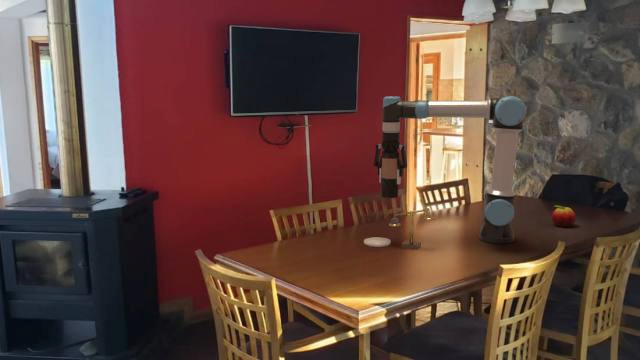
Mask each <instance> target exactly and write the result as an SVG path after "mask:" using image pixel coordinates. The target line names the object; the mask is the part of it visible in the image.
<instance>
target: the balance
mask: <svg viewBox="0 0 640 360" xmlns="http://www.w3.org/2000/svg"><path fill="white" fill-rule="evenodd" d="M430 210H431V209H430V207H428V208H424V209H423V208H422V209H418V210H410V211H407V212H401V213H396V214H394V216H393V217H392V218H391V219H390V223H388V226H389V227H395V228H396V227H397V228H398V227H401V226H402V225H401V223H400V222H399V218H398V217H401V216H408V215H409V240H404V241H403V242H402V243H401V249H405V250H407V249H408V250H413V251H417V250H419V249H420V248H421V247H422V241H414V221H415V220H414V218H415V217H414V214H417V213H424V212H428V216H423V217H422V220H425V221H435V220H436V217H435V216H430V213H431V212H430Z"/></svg>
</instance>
